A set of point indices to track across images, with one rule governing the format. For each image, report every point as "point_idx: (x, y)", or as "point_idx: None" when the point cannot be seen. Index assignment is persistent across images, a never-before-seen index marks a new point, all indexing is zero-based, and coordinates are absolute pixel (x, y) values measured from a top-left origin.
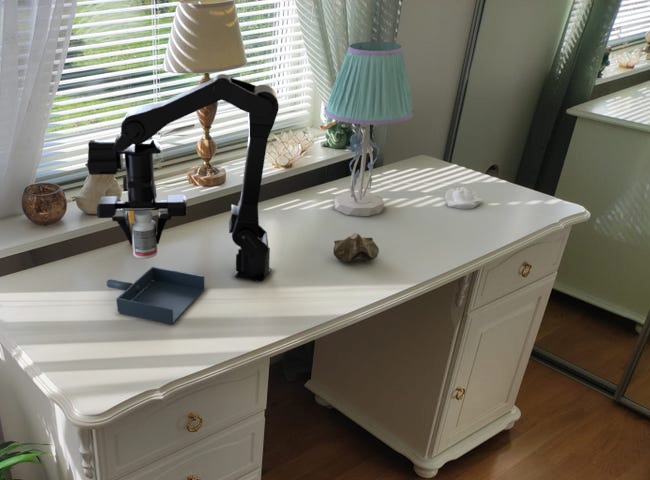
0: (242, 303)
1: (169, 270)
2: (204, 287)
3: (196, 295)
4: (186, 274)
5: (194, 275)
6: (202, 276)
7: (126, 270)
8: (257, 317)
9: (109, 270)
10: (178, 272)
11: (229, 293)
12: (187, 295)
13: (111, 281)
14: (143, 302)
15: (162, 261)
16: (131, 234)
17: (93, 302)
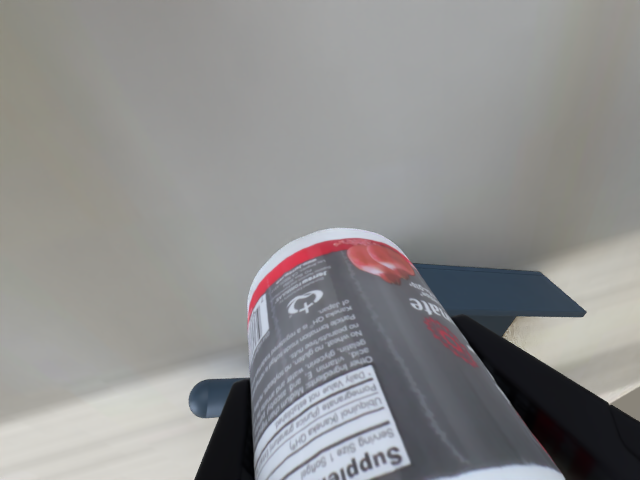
0: (624, 304)
1: (454, 314)
2: (548, 279)
3: (510, 317)
4: (520, 313)
5: (551, 316)
6: (579, 316)
7: (171, 194)
8: (630, 344)
9: (68, 217)
10: (491, 315)
11: (611, 266)
12: (483, 325)
13: (216, 416)
14: None
15: (353, 16)
16: (254, 477)
17: (185, 425)
